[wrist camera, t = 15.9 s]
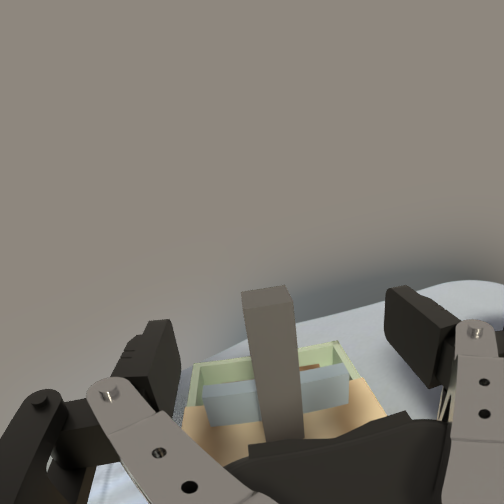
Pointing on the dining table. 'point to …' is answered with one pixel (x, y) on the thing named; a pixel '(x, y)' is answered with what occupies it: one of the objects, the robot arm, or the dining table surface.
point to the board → (241, 435)
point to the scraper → (275, 374)
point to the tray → (244, 371)
